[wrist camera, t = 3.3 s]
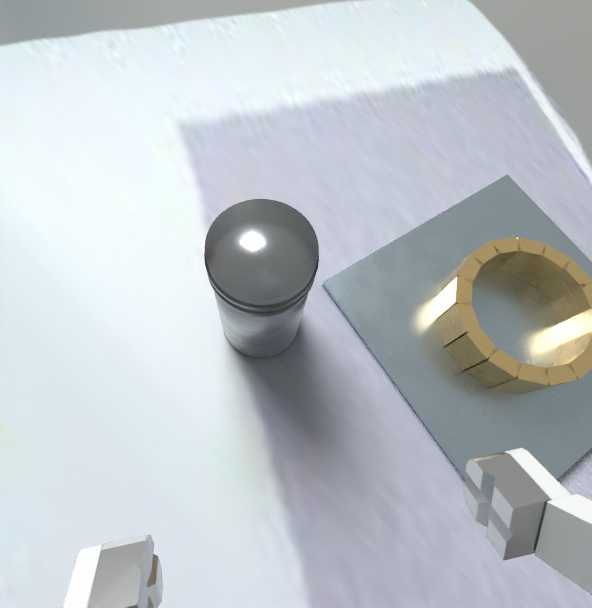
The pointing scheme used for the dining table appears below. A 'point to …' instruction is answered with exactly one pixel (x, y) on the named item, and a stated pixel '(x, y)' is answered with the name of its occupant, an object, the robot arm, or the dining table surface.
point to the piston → (261, 273)
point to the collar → (483, 328)
